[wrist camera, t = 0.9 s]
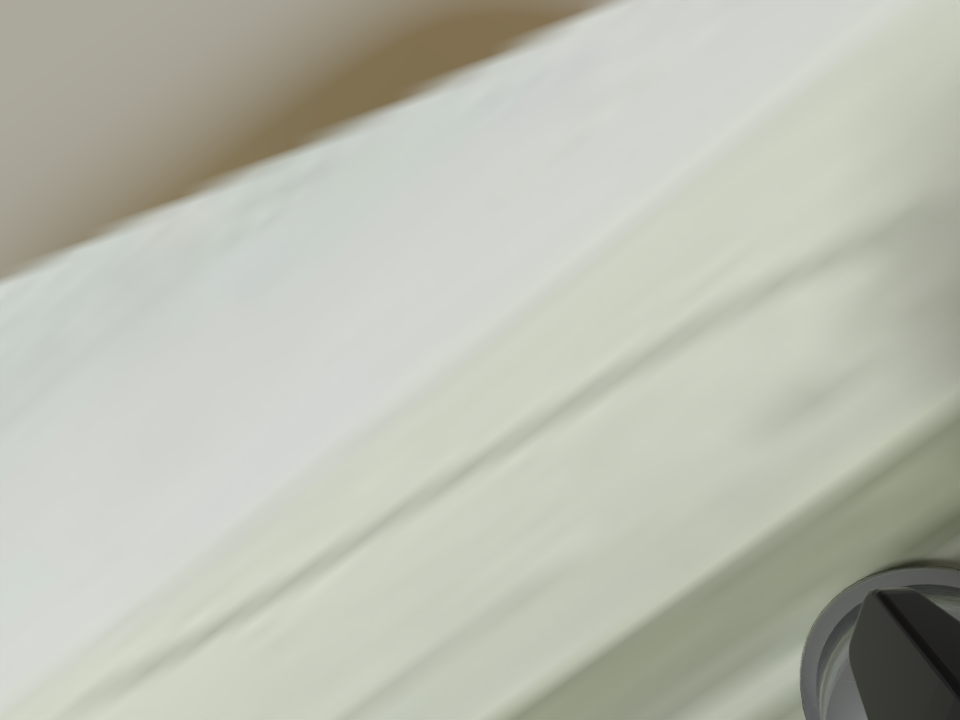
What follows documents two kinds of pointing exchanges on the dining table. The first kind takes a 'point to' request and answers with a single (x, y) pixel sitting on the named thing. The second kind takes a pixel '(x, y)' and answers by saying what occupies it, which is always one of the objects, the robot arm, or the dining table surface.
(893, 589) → the robot arm
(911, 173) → the dining table surface
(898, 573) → the cover
